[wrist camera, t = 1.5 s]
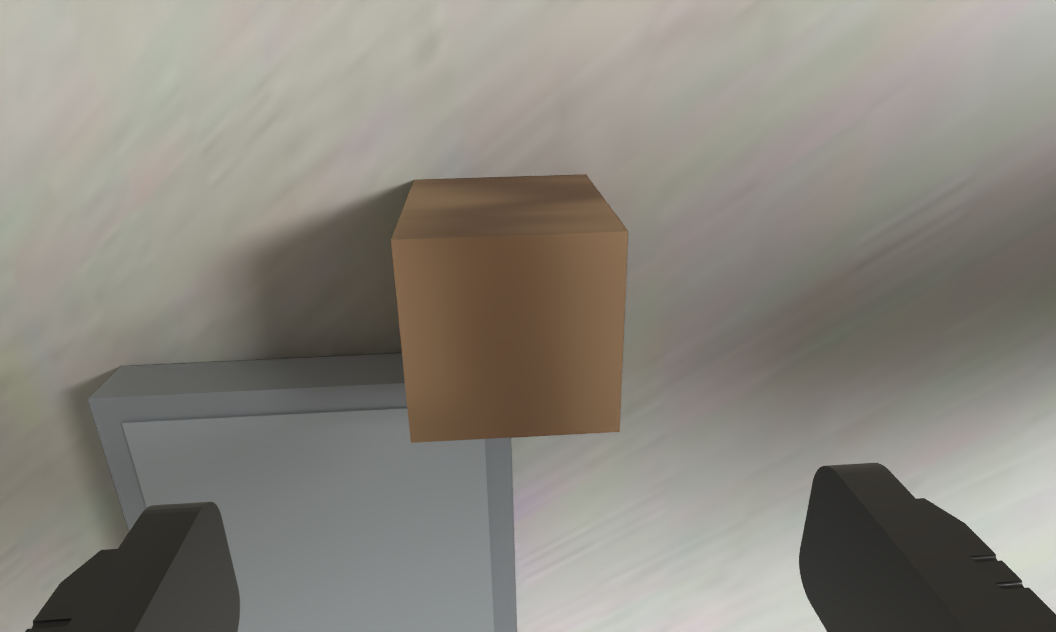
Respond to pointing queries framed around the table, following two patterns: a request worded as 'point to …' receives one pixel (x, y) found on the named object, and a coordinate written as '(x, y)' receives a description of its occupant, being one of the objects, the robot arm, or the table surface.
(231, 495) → the slate coaster
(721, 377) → the table surface
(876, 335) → the table surface
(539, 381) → the walnut block
